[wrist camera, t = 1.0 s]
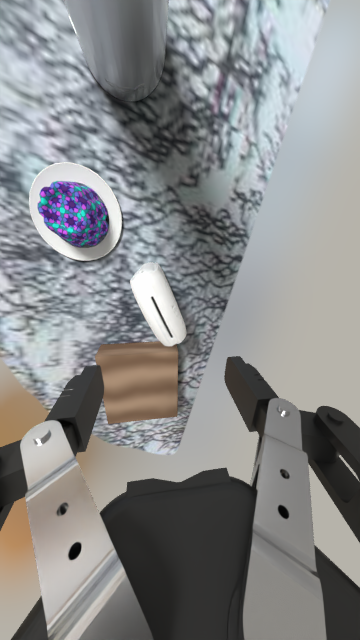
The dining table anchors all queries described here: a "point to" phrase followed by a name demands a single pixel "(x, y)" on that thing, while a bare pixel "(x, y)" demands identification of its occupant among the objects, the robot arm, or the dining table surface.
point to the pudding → (75, 211)
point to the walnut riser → (139, 380)
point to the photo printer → (158, 304)
